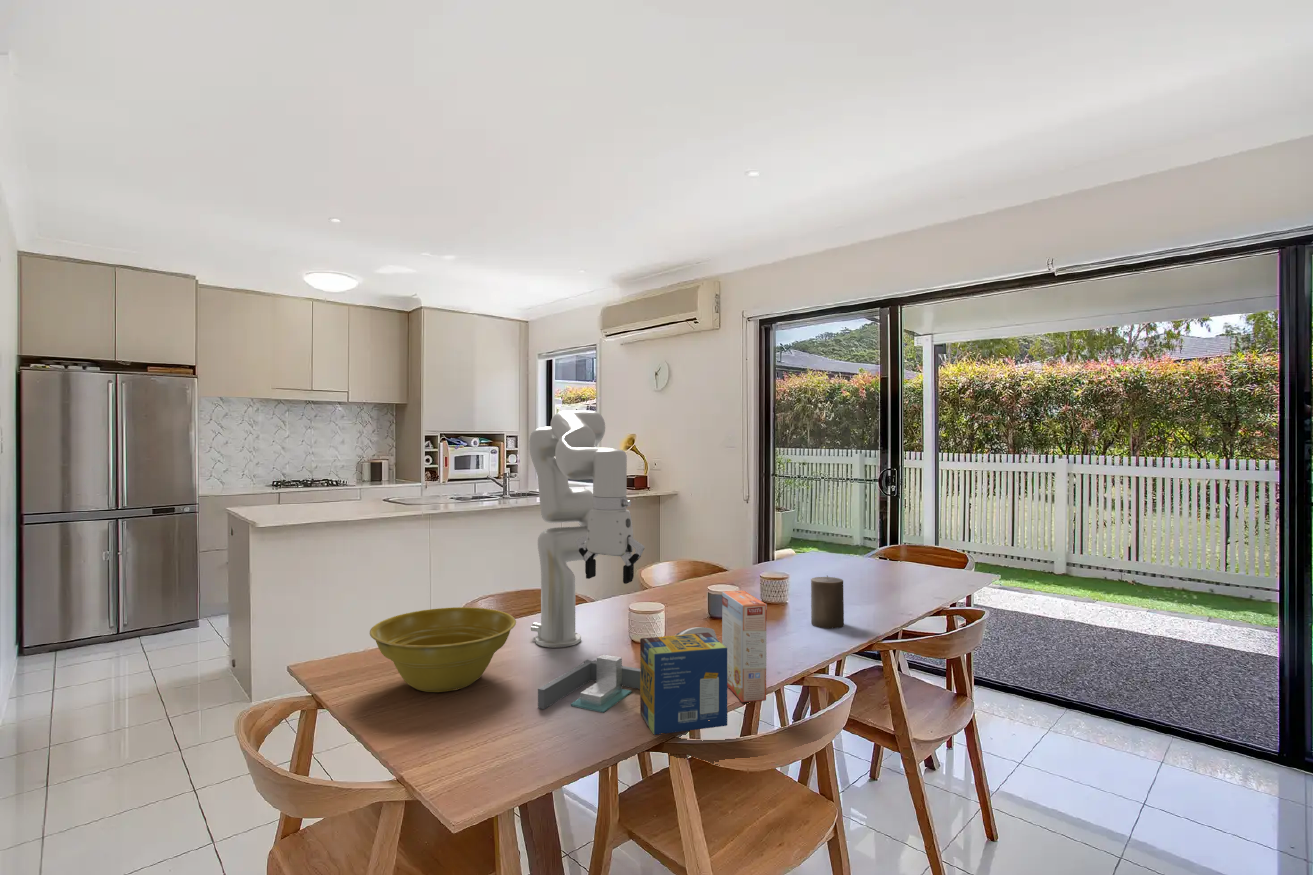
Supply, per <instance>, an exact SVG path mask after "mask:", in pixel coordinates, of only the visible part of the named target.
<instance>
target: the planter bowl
mask: <svg viewBox="0 0 1313 875" xmlns="http://www.w3.org/2000/svg"><path fill="white" fill-rule="evenodd" d="M516 623H517V620H516V618H515V617H514V616H513V615H511V614H510V613H507V612H504V611H501V610H498V609H497V610H496V609H491V608H484V607H470V606H469V607H467V606H465V607H460V606H459V607H458V606H457V607H441V608H440V607H439V608H431V609H423V610H416V611H411V612H406V613H402V614H399V615H394V616H392V617H389V618H386V619H383V620H381V621H379V622H378V623H376V624H375V625H373V626H372V627H371V628H370V630H369V636H370V638H372V639H373V640H374V641H375V642H376V645H377V647H378V649H379V652H380V653H381V654H382V656H383V657H385V658H387V659H389V660H390V661H391V662H392V663H393V664H394V666H395V668H396V670H397V673H399V675H400V676H401V678H402V679H403V681H404V682H405V683H406V684H407V685H408V686H411V687H412V688H413V689H416V690H418V691H422V692H426V693H427V692H428V693H443V692H445V693H446V692H452V691H456V690H457V691H458V690H460V689H464V688H467V687H468V686H470V685H472V684H473V683H475V681H477V680H478V679H480V678H481V677H482V675H483V674H484V673H485V671H486V669H487V668H488V666H489V664H490V663H491V661H492V658H493V656H494V654H495V653H496V652H497V651H498V650H500V649H501V648H502V647H503V646H504V645H505V644H506V642H507V640H508V638H509V636H510V634H511V630H513V629H514V627H515V626H516V625H517V624H516Z"/></svg>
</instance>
